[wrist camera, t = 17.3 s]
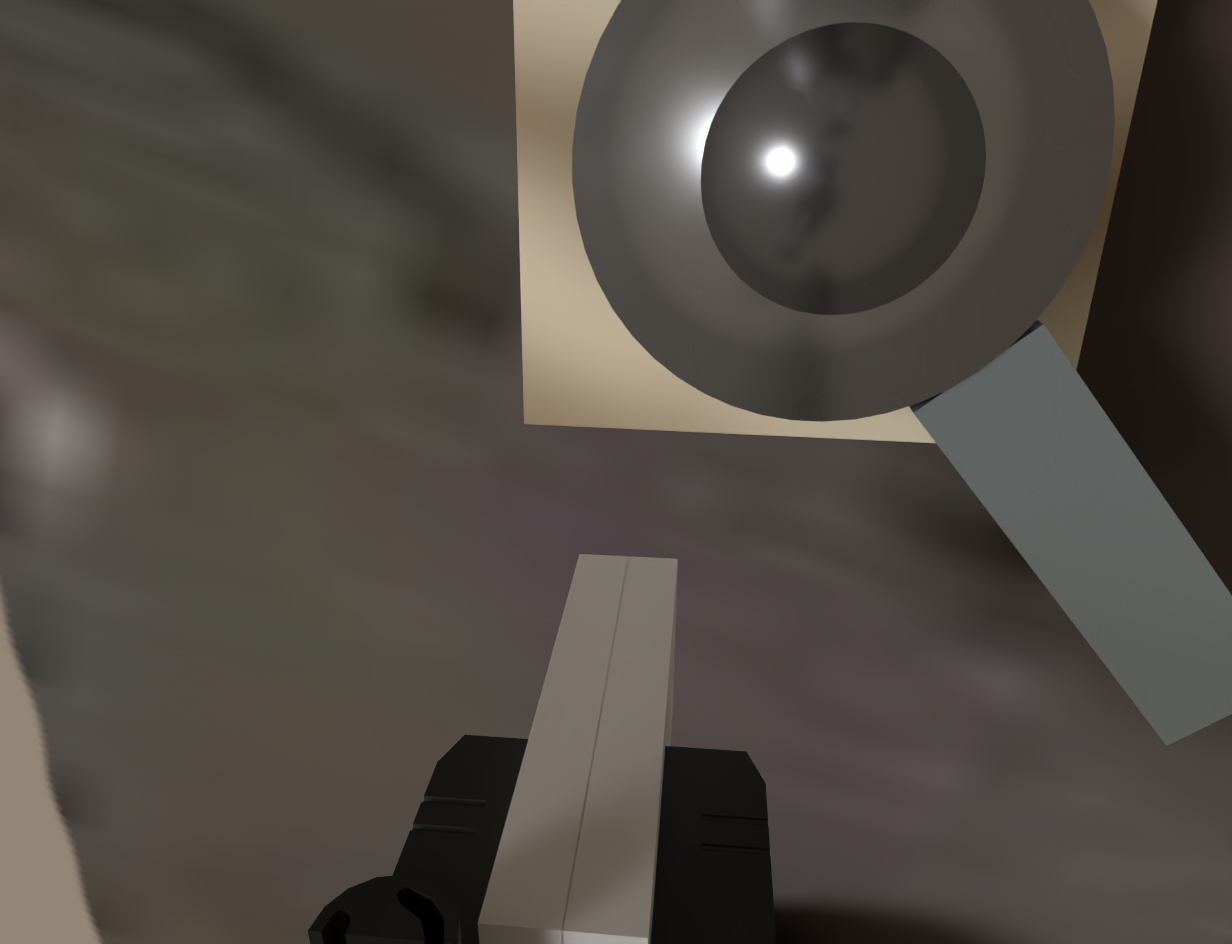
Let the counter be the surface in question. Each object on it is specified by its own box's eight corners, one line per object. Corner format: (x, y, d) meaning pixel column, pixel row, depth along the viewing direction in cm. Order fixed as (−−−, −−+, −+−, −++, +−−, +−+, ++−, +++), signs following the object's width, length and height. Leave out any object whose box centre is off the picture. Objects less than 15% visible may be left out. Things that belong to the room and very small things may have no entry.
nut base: (524, -177, 17) (487, -230, 14) (1159, -182, 16) (1255, -238, 13) (536, 401, 21) (510, 449, 18) (1035, 423, 20) (1086, 477, 17)
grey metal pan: (506, 129, 17) (453, 140, 13) (873, -221, 14) (926, -319, 11) (991, 719, 21) (1048, 846, 17) (1347, 527, 18) (1496, 631, 15)
